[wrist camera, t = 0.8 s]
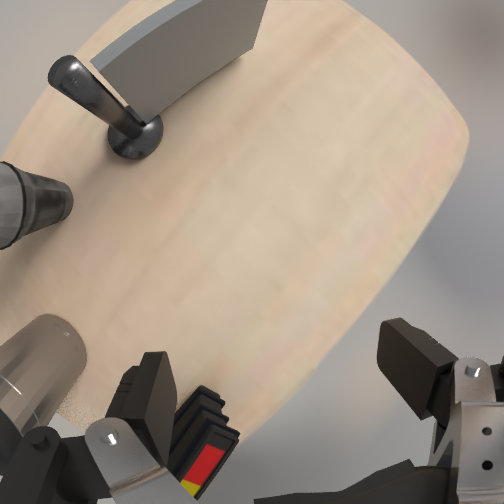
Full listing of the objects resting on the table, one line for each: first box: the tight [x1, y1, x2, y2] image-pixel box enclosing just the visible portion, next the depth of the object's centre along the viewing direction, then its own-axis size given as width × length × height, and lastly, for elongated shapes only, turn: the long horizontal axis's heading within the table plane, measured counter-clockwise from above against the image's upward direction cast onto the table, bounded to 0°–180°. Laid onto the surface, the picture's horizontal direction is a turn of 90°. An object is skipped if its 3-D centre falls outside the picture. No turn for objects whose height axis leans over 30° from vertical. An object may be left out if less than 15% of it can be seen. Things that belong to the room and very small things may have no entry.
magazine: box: [167, 385, 240, 501], centre depth 29 cm, size 4×13×15 cm, turn 142°
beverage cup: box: [0, 161, 73, 250], centre depth 18 cm, size 7×7×20 cm
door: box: [90, 0, 268, 124], centre depth 20 cm, size 14×2×14 cm, turn 130°
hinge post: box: [48, 55, 163, 159], centre depth 20 cm, size 6×6×18 cm
